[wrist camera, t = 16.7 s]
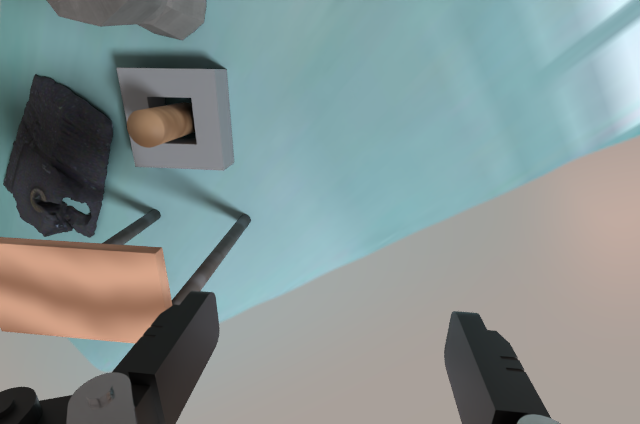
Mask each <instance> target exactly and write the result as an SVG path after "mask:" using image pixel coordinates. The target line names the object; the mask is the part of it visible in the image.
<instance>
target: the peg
mask: <svg viewBox="0 0 640 424" xmlns="http://www.w3.org/2000/svg"><path fill="white" fill-rule="evenodd" d="M127 130H128V133H129V135H130V137H131V138H132V139H133V141H134V142H136V143H137V144H138V145H140V146H142V147H146V148H151V147H155V146H157V145H160V144H163V143H166V142H168V141H171V140H174V139H177V138H180V137H182V136H185V135H188V134H191V133H193V132H195V125H194V117H193V108H192V104H191V103H187V102H183V103H177V104H171V105H165V106H159V107H153V108H148V109H142V110H137V111H134V112H133V113H131V114H130V116H129V117H128V120H127Z"/></svg>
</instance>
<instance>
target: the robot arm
mask: <svg viewBox="0 0 640 424" xmlns="http://www.w3.org/2000/svg"><path fill="white" fill-rule="evenodd" d="M218 337H219V321H218V313H217V305H216V297H215V294H214V293H213V292H201V291H191V292H189V293H188V295H187V296H186V297H185V299H184V300H183V301H182V302H181V304H180V305H175V304H174V305H172V306H171V307H169V308H168V309H166V310H165V311H164V312H162V313H161V314H160V315H159V316H158V317H157V318H156V319H155V321H154V322H153V323H152V324H151V327H149V328H148V329H147V330H146V332H145V333H144V334H143V337H141V338H140V339H139V340H138V341H137V342H136V344H135V345H134V346H133V347H132V349H131V350H130V351H129V352H128V353H127V355H126V356H125V357H124V358H123V359H122V361H121V362H120V363H119V364H118V366H117V367H116V368H115V369H114V370H113V372H112V373H106V374H103V375H100V376H97V377H95V378H93V379H91V380H89V381H87V382H86V383H84V384H83V385H82V386H80V388H78V389H77V390H76V391H75V392H74V394H73V395H70V396H64V397H59V398H53V399H48V400H42V401H39V400H38V398H37V395H36V393H35V392H34V390H33V389H31V388H28V387H16V388H11V389H7V390H5V391H2V392H0V424H176V422H177V420H178V418H179V416H180V414H181V412H182V410H183V408H184V406H185V404H186V403H187V401H188V399H189V397H190V395H191V393H192V391H193V389H194V387H195V385H196V383H197V381H198V380H199V378H200V376H201V374H202V372H203V370H204V368H205V366H206V364H207V362H208V361H209V358H210V357H211V355H212V353H213V351H214V349H215V347H216V344H217V342H218ZM444 354H445V355H444V358H445V366H446V370H447V374H448V377H449V381H450V384H451V387H452V391H453V394H454V398H455V401H456V405H457V408H458V411H459V415H460V418H461V421H462V424H560V423H559V422H557V421H555V420H553V419H551V417H550V415H549V413H548V412H547V410H546V408H545V406H544V405H543V403H542V401H541V399H540V397H539V395H538V394H537V392H536V390H535V389H534V386H533V385H532V383H531V381H530V379H529V377H528V376H527V374H526V372H524V368H523V367H522V365H521V363H520V361H519V360H518V359H517V356H516V354H515V352H514V351H513V349H512V347H511V345H510V343H509V342H508V341H506V340H505V339H504V338H503V337H502V336H501V335H500V334H499V333H498V332H497V331H490V330H487V329H486V327H485V325H484V323H483V321H482V319H481V317H480V315H479V314H477V313H469V312H455V311H454V312H452V314H451V319H450V323H449V329H448V334H447V339H446V344H445V351H444Z"/></svg>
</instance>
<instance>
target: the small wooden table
mask: <svg viewBox="0 0 640 424" xmlns="http://www.w3.org/2000/svg"><path fill="white" fill-rule="evenodd" d="M160 216H161V215H160V212H159V211H157V210H152V211H150V212H149V213H147V214H146V215H144V216H143V217H141V218H140V219H138V220H137V221H135V222H134V223H132V224H131V225H129V226H128V227H126V228H125V229H123V230H122V231H120V232H119V233H117V234H116V235H114V236H113V237H111V238H110V239H108V240H107V241H105V242H104V243H102V244H99V243H83V242H68V241H52V240H36V239H21V238H5V237H0V328H1V330H2V331H6V332H17V333H28V334H39V335H50V336H61V337H71V338H82V339H93V340H104V341H115V342H126V343H136V342H137V341H138V340H139V339H140V338H141V337H143V334H144V333H145V332H146V330H147V329H148V328H149V327H151V324H152V323H153V322H154V321H155V319H156V318H157V317H158V316H159V315H160V314H161V313H162V312H164V311H165V310H166V309H168V308H169V307H171V306H172V305H174V304H175V305H180V304H181V302H182V301H183V300H184V299H185V297H186V296H187V295H188V293H189V292H191V291H201V289H202V288H203V286H204V285H205V284H206V282H207V281H208V280H209V278H210V277H211V275H212V274H213V273H214V271H215V270H216V269H217V267H218V266H219V264H220V263H221V262H222V260H223V259H224V258H225V256H226V255H227V253H228V252H229V251H230V249H231V248H232V247H233V245H234V244H235V242H236V241H237V240H238V238H239V237H240V236H241V234H242V233H243V231H244V230H245V229H246V227H247V226H248V225H249V223H250V222H251V219H250V217H249V216H248V215H246V214H244V215H242V216H241V217H240V218H239V219H238V220H237V222H236V223H235V224H234V225H233V227H232V228H231V229H230V230H229V231H228V233H227V234H226V235H225V236H224V238H223V239H222V240H221V241H220V242H219V244H218V245H217V246H216V247H215V249H214V250H213V251H212V252H211V253H210V255H209V256H208V257H207V258H206V259H205V261H204V262H203V263H202V264H201V266H200V267H199V268H198V269H197V270H196V272H195V273H194V274H193V275H192V277H191V278H190V279H189V280H188V281H187V283H186V284H185V285H184V286H183V287H182V289H181V290H180V291H179V292H178V294H177V295H176V296H175V297H174V298H173V300H171V295H170V289H169V284H168V278H167V272H166V267H165V261H164V256H163V250H162V248H161V247H146V246H130V245H124V244H125V243H126V242H128V241H129V240H131V239H132V238H133V237H135V236H136V235H137V234H139V233H140V232H141V231H143V230H144V229H146V228H147V227H148V226H150V225H151V224H152V223H154V222H155V221H156V220H158V219H159V218H160Z"/></svg>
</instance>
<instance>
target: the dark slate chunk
mask: <svg viewBox="0 0 640 424" xmlns="http://www.w3.org/2000/svg"><path fill="white" fill-rule="evenodd" d="M112 137H113V124H112V122H111V120H110V119H108V118H107V117H106V116H105V115H104V114H102V113H101V112H99V111H98V110H96V109H95V108H94V107H92V106H91V105H90V104H89V103H88V102H87V101H86V100H83V99H82V98H80V97H78V96H76V95H75V94H73V92H72V91H70V90H69V89H68V88H67V87H64V86H62V85H61V84H57V83H56V82H55V81H54V80H52V79H51V78H47V77H38V76H37V75H35V76H34V79H33V83H32V86H31V89H30V97H29V101H28V102H27V104H26V108H25V111H24V115H23V117H22V121H21V123H20V125H19V129H18V132H17V137H16V141H15V142H14V143H13V145H14V146H13V150H12V153H11V155H10V163H9V164H8V167H7V173H6V178H5V179H4V183H3V185H4V186H5V187H6V188H7V190H8V191H10V192H11V194H12V193H13V197H14V198H15V200H16V202H17V206H16V207H17V209H18V211H19V214H20V217H21V218H22V219H23V220H24V221H26V222H27V223H29V224H31V225H33V226H34V227H35V228H36V229H37V230H38V232H40V233H42V234H43V236H44V237H46V236H50V235H53V234H57V233H62V232H68V231H72V229H73V228H74V229H75V230H76V232H78V233H81V234H82V235H84V236H87V237H89V238H90V237H91V236H93V235H94V234H95V233H94V231H95V229H96V226H97V225H96V222H97V220H98V216H99V213H100V209H101V206H102V200H103V194H104V187H105V186H104V183H105V179H106V175H107V165H108V163H109V162H108V159H109V152H110V144H111V141H112ZM65 197H69V198H71V200H74V201H77V202H81V203H84V202H85V203H87V205H88V206H89V208H90V211H91V214H90V215H86V214H83V213H82V212H79V211H78V210H76V209H75V208H74V207H73V206H67V204H66V203H65V202H63V201H62V200H63V198H65ZM71 226H73V227H71Z"/></svg>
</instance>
